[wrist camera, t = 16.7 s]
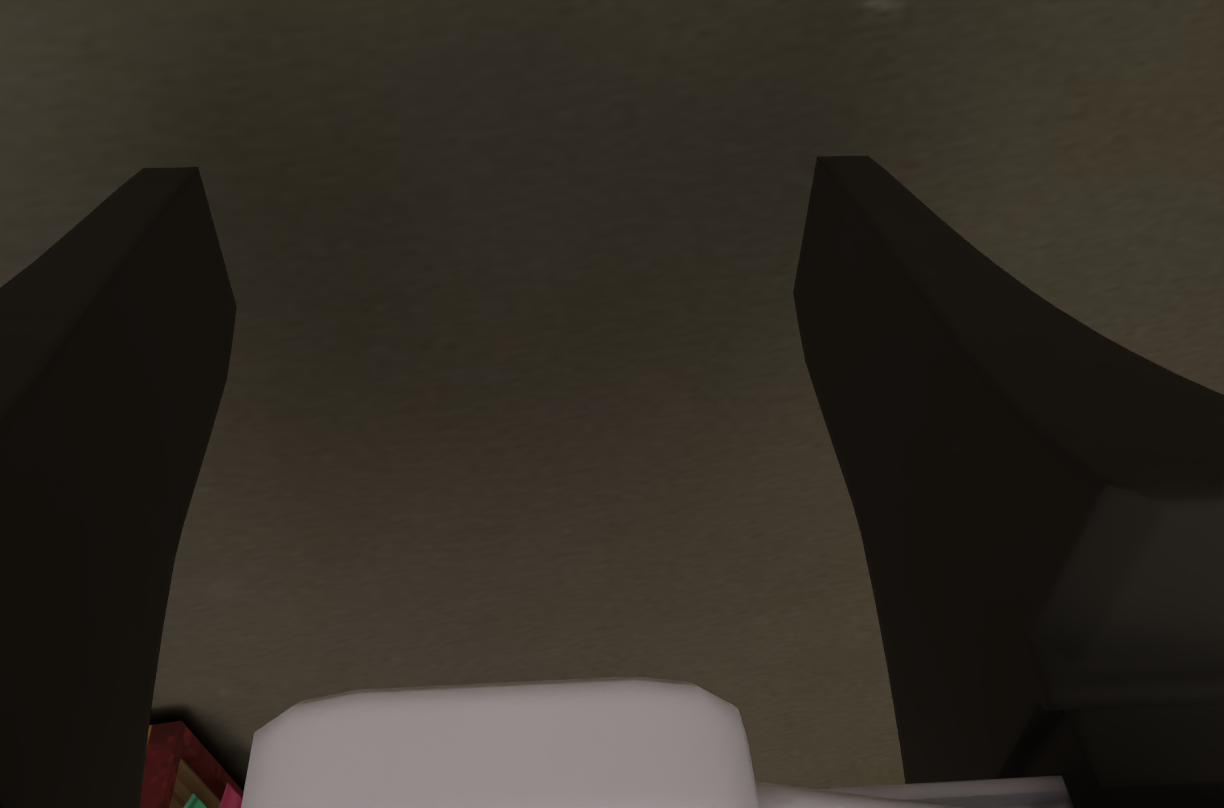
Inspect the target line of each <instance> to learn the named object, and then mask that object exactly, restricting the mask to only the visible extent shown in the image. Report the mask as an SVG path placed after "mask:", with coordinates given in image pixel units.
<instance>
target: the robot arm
mask: <svg viewBox="0 0 1224 808" xmlns="http://www.w3.org/2000/svg"><path fill="white" fill-rule="evenodd" d="M793 294H794V300H795V306H796V312H797V318H798V324H799V330H800V335H801V341H802V346H803V351H804V356H805V361H806V364H807V368H808V371H809V374H810V377H811V380H812V383H813V386H814V389H815V392H816V395H817V399H818V402H819V405H820V408H821V411H822V414H823V417H824V420H825V423H826V426H827V429H828V432H829V435H830V438H831V441H832V443H833V446H834V449H835V452H836V455H837V458H838V461H839V464H840V467H841V470H842V473H843V476H844V479H845V482H846V485H847V488H848V491H849V494H850V497H851V500H852V503H853V507H854V510H855V514H856V517H857V521H858V524H859V528H860V532H861V536H862V540H863V545H864V550H865V555H866V560H867V564H868V569H869V574H870V579H871V584H872V588H873V593H874V598H875V603H876V608H877V614H878V619H879V625H880V630H881V635H882V641H883V646H884V651H885V657H886V662H887V667H888V673H889V679H890V686H891V692H892V698H893V704H894V710H895V716H896V722H897V729H898V735H899V741H900V747H901V754H902V761H903V769H904V776H905V783H906V784H898V785H880V786H862V787H844V788H826V789H811V788H803V787H795V786H787V785H779V784H771V783H763V782H755V780H754V774H753V768H752V762H751V756H750V751H749V745H748V739H747V735H746V732H745V729H744V726H743V723H742V719H741V716H740V713H739V710H738V708H737V707H735V706H734V705H732V704H730V703H728V702H726V701H725V700H723V699H721V698H719V697H717V696H715V695H713V694H711V693H710V692H708V691H706V690H704V689H702V688H700V687H698V686H696V685H694V684H693V683H691V682H689V681H679V680H669V679H659V678H649V677H638V676H626V677H605V678H584V679H563V680H543V681H522V682H501V683H480V684H460V685H439V686H418V687H397V688H377V689H357V690H352V691H347V692H342V693H337V694H332V695H327V696H322V697H317V698H312V699H307V700H302V701H300V702H299V703H297V704H295V705H294V706H292V707H290V708H289V709H288V710H286V711H285V712H283V713H282V714H280V715H279V716H277V717H276V718H274V719H273V720H271V721H270V722H269V723H267V724H266V725H264V726H263V727H261V728H260V729H258V730H257V731H255V732H254V737H253V742H252V748H251V753H250V759H249V765H248V770H247V776H246V782H245V787H244V793H243V799H242V804H241V808H1224V395H1223V394H1220V393H1218V392H1215V391H1213V390H1211V389H1209V388H1206V387H1204V386H1202V385H1200V384H1197V383H1195V382H1193V381H1191V380H1188V379H1186V378H1184V377H1182V376H1180V375H1177V374H1175V373H1173V372H1171V371H1169V370H1167V369H1165V368H1163V367H1161V366H1159V365H1157V364H1155V363H1153V362H1151V361H1149V360H1147V359H1145V358H1143V357H1142V356H1140V355H1138V354H1136V353H1134V352H1132V351H1130V350H1128V349H1126V348H1124V347H1122V346H1120V345H1119V344H1117V343H1115V342H1113V341H1111V340H1109V339H1108V338H1106V337H1104V336H1102V335H1101V334H1099V333H1097V332H1096V331H1094V330H1092V329H1091V328H1089V327H1087V326H1086V325H1084V324H1083V323H1081V322H1079V321H1078V320H1076V319H1074V318H1073V317H1071V316H1069V315H1068V314H1066V313H1065V312H1063V311H1061V310H1060V309H1058V308H1056V307H1055V306H1053V305H1052V304H1050V303H1049V302H1047V301H1046V300H1044V299H1043V298H1042V297H1040V296H1039V295H1037V294H1036V293H1034V292H1033V291H1031V290H1030V289H1029V288H1027V287H1026V286H1025V285H1023V284H1022V283H1021V282H1019V281H1018V280H1016V279H1015V278H1014V277H1012V276H1011V275H1010V274H1008V273H1007V272H1006V271H1004V270H1003V269H1001V268H1000V267H999V266H997V265H996V264H995V263H994V262H992V261H991V260H990V259H989V258H987V257H986V256H985V255H983V254H982V253H981V252H980V251H978V250H977V249H976V248H975V247H973V246H972V245H971V244H970V243H969V242H967V241H966V240H965V239H964V238H963V237H961V236H960V235H959V234H958V233H957V232H955V231H954V230H953V229H952V228H951V227H950V226H948V225H947V224H946V223H945V222H944V221H943V220H941V219H940V218H939V217H938V216H937V215H936V214H934V213H933V212H932V211H931V210H930V209H929V208H928V207H927V206H925V205H924V204H923V203H922V202H921V201H920V200H919V199H918V198H916V197H915V196H914V195H913V194H912V193H911V192H910V191H909V190H907V189H906V188H905V187H904V186H903V185H902V184H901V183H900V182H898V181H897V180H896V179H895V178H894V177H893V176H892V175H890V174H889V173H888V172H887V171H886V170H885V169H884V168H882V167H881V166H880V165H879V164H878V163H876V162H875V161H874V160H872V159H871V158H870V157H869V156H830V157H817V161H816V167H815V172H814V178H813V184H812V189H811V195H810V201H809V206H808V212H807V218H806V223H805V229H804V235H803V240H802V246H801V252H800V257H799V263H798V269H797V274H796V280H795V286H794V291H793ZM236 307H237V306H236V303H235V299H234V296H233V292H232V288H231V285H230V281H229V277H228V274H227V270H226V267H225V263H224V259H223V256H222V252H221V248H220V245H219V241H218V238H217V234H216V230H215V227H214V223H213V219H212V216H211V212H210V209H209V205H208V201H207V198H206V194H205V191H204V187H203V183H202V180H201V176H200V172H199V169H198V167H187V168H144V169H142V170H141V171H140V172H138V173H137V174H136V175H134V176H133V177H132V178H130V179H129V180H128V181H127V182H126V183H124V184H123V185H122V186H121V187H120V188H118V189H117V190H116V191H115V192H114V193H113V194H112V195H110V196H109V197H108V198H107V199H106V200H105V201H104V202H102V203H101V204H100V205H99V206H98V207H97V208H96V209H94V210H93V211H92V212H91V213H90V214H89V215H88V216H87V217H85V218H84V219H83V220H82V221H81V222H80V223H79V224H77V225H76V226H75V227H74V228H73V229H72V230H70V231H69V232H68V233H67V234H66V235H65V236H63V237H62V238H61V239H60V240H59V241H58V242H56V243H55V244H54V245H53V246H52V247H51V248H49V249H48V250H47V251H46V252H45V253H44V254H42V255H41V256H40V257H39V258H38V259H37V260H35V261H34V262H33V263H32V264H31V265H29V266H28V267H27V268H25V269H24V270H23V271H21V272H20V273H19V274H18V275H16V276H15V277H14V278H12V279H11V280H10V281H9V282H7V283H6V284H5V285H3V286H2V287H1V288H0V808H140V802H141V791H142V782H143V774H144V765H145V757H146V749H147V740H148V732H149V723H150V715H151V706H152V699H153V692H154V685H155V679H156V672H157V665H158V658H159V651H160V644H161V637H162V631H163V625H164V619H165V613H166V607H167V601H168V595H169V590H170V584H171V578H172V572H173V566H174V561H175V557H176V552H177V548H178V544H179V540H180V536H181V532H182V528H183V525H184V521H185V518H186V515H187V511H188V508H189V505H190V501H191V498H192V495H193V491H194V488H195V485H196V481H197V478H198V475H199V471H200V468H201V465H202V462H203V458H204V455H205V452H206V448H207V445H208V442H209V438H210V435H211V432H212V428H213V425H214V421H215V418H216V415H217V411H218V408H219V404H220V401H221V397H222V394H223V390H224V387H225V383H226V379H227V374H228V367H229V361H230V354H231V348H232V340H233V332H234V324H235V315H236Z"/></svg>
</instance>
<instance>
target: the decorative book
mask: <svg viewBox="0 0 1224 808" xmlns="http://www.w3.org/2000/svg"><path fill="white" fill-rule="evenodd" d="M243 793H244V792H243V791H242V790H241V788H240V787H239V786H238V785H237V784H236V783H235V782H234V780H233V779H232V778H231V777H230V776H229V775H228V774H227V772H226V771H225V770H224V769H223V768H222V767H221V766H220V764H219V763H218V762H217V761H216V760H215V759H214V758H213V756H212V755H211V754H210V753H209V752H208V751H207V750H206V748H205V747H204V746H203V745H202V744H201V743H200V741H199V740H198V739H197V738H196V737H195V736H194V735H193V733H192V732H191V731H190V730H189V729H188V728H187V727H186V725H185V724H184V723H183V722H182V721H176V722H169V723H162V724H155V725H149V732H148V740H147V749H146V757H145V765H144V774H143V782H142V791H141V802H140V808H241V804H242V799H243Z"/></svg>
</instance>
